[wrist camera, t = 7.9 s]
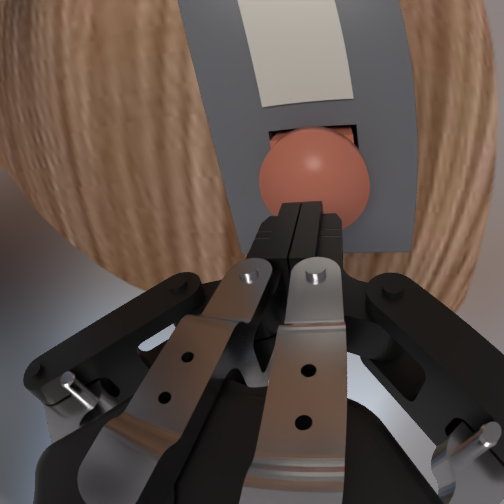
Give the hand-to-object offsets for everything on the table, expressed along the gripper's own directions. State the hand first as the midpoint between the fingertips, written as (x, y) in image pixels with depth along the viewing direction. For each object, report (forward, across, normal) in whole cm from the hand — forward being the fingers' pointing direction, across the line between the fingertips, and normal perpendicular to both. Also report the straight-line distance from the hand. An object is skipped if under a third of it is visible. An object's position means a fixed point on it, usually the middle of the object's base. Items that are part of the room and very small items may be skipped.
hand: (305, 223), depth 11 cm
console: (+14, 0, -7) cm, 15 cm away
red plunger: (+11, 0, 0) cm, 11 cm away
